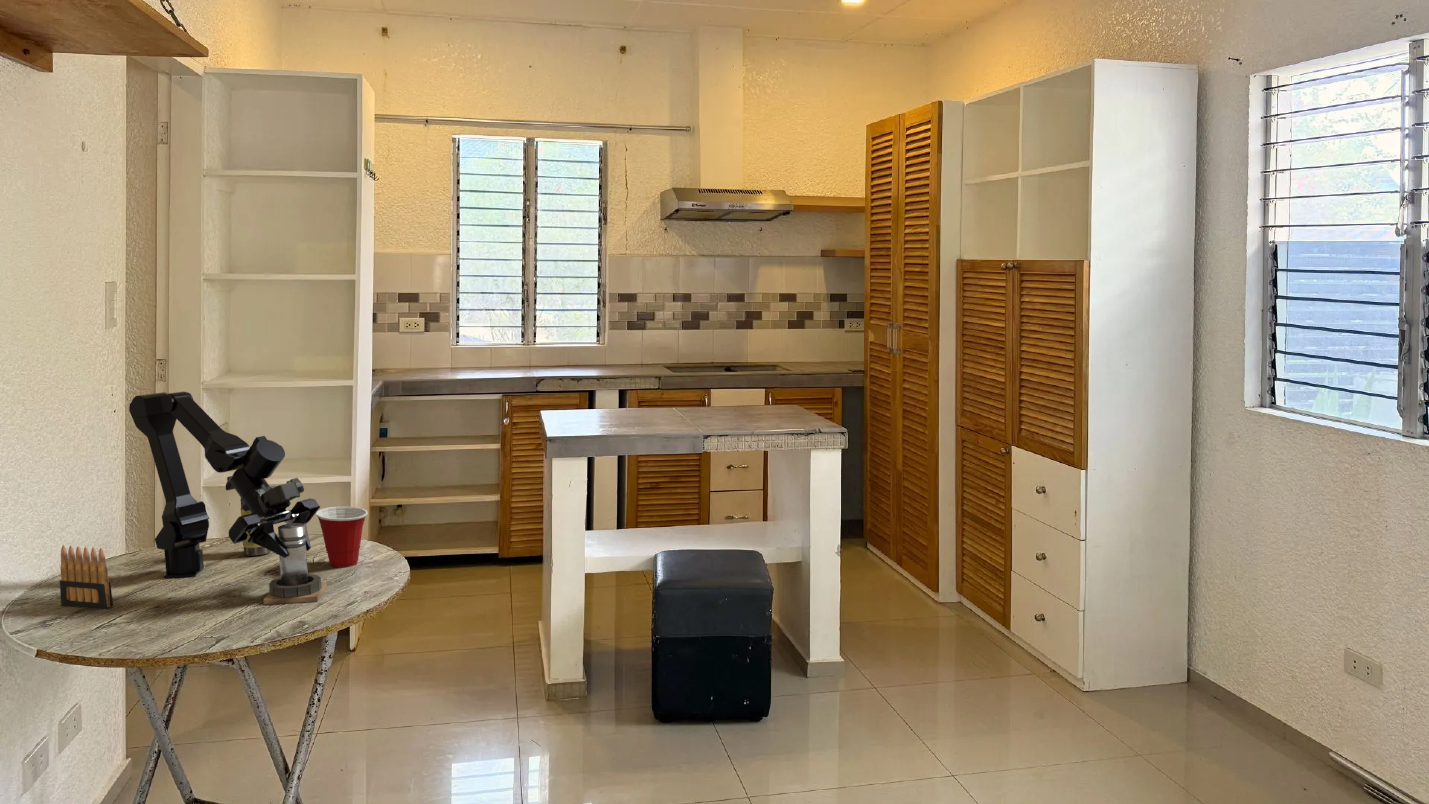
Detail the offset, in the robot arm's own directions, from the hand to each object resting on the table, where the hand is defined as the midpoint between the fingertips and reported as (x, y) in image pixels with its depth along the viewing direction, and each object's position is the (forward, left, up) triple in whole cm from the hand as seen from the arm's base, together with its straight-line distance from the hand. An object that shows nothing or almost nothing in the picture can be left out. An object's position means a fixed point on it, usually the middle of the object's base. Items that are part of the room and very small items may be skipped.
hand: (298, 552), depth 219 cm
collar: (-1, +1, -9) cm, 9 cm away
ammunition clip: (-40, +1, -9) cm, 41 cm away
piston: (-1, +1, -8) cm, 8 cm away
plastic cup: (+5, +22, -9) cm, 25 cm away
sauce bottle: (-16, +35, -9) cm, 40 cm away
